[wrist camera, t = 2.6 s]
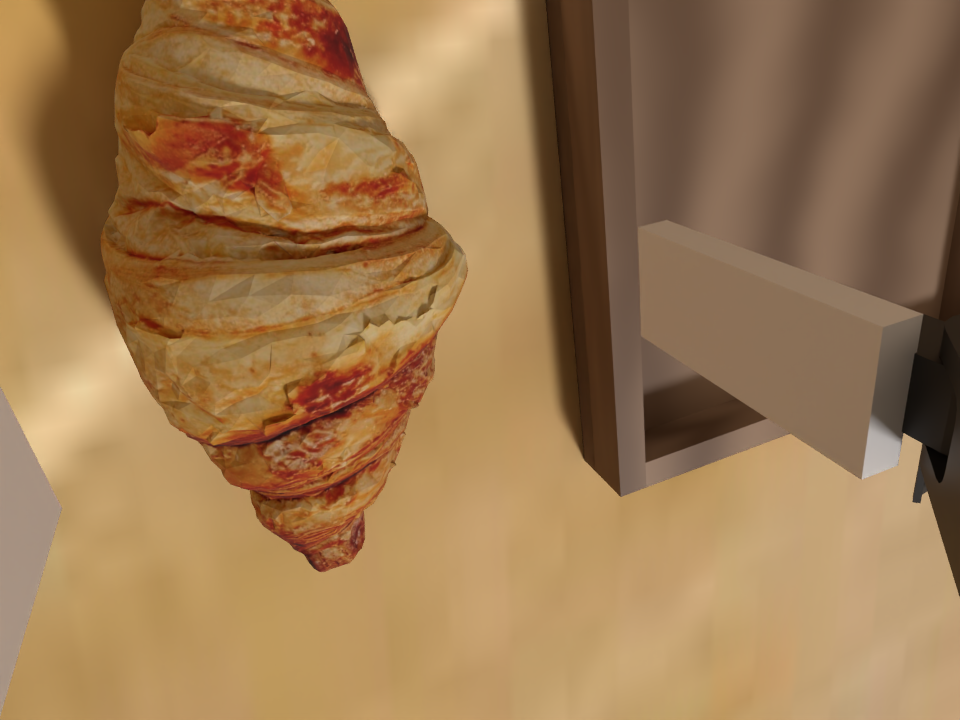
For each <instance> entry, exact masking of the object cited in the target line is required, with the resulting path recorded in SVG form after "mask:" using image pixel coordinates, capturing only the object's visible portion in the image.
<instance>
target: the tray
mask: <svg viewBox="0 0 960 720" xmlns="http://www.w3.org/2000/svg"><path fill="white" fill-rule="evenodd" d="M546 6H547V18H548V30H549V42H550V54H551V66H552V78H553V90H554V102H555V114H556V126H557V138H558V149H559V161H560V173H561V185H562V197H563V209H564V221H565V233H566V245H567V257H568V269H569V281H570V293H571V305H572V317H573V329H574V341H575V353H576V365H577V377H578V389H579V401H580V413H581V425H582V437H583V448H584V460H585V461H586V462H587V463H588V464H589V465H590V466H591V467H592V468H593V469H594V470H595V471H596V472H597V473H598V474H599V475H600V476H601V477H602V478H603V479H604V480H605V481H606V482H607V483H608V484H609V485H610V486H611V487H612V488H613V489H614V491H615V492H616V493H617V494H618V495H619V496H620V497H622V496H624V495H627V494H630V493H632V492H635V491H638V490H640V489H643V488H646V487H648V486H651V485H654V484H657V483H659V482H662V481H665V480H667V479H670V478H673V477H675V476H678V475H681V474H683V473H686V472H689V471H691V470H694V469H697V468H699V467H702V466H705V465H707V464H710V463H713V462H715V461H718V460H721V459H723V458H726V457H729V456H731V455H734V454H737V453H739V452H742V451H745V450H747V449H750V448H753V447H755V446H758V445H761V444H763V443H766V442H769V441H771V440H774V439H777V438H779V437H782V436H785V435H787V434H790V433H789V432H788V431H786V430H784V429H783V428H781V427H780V426H778V425H777V424H775V423H774V422H772V421H771V420H769V419H768V418H766V417H764V416H763V415H761V414H760V413H758V412H757V411H755V410H754V409H752V408H751V407H749V406H748V405H746V404H744V403H743V402H741V401H740V400H738V399H737V398H735V397H734V396H732V395H731V394H729V393H728V392H726V391H725V390H723V389H721V388H720V387H718V386H717V385H715V384H714V383H712V382H711V381H709V380H708V379H706V378H705V377H703V376H701V375H700V374H698V373H697V372H695V371H694V370H692V369H691V368H689V367H688V366H686V365H685V364H683V363H682V362H680V361H678V360H677V359H675V358H674V357H672V356H671V355H669V354H668V353H666V352H665V351H663V350H662V349H660V348H658V347H657V346H655V345H654V344H652V343H651V342H649V341H648V340H646V339H645V338H643V337H642V336H641V313H640V280H639V248H638V227H641V226H645V225H649V224H653V223H657V222H661V221H665V220H668V221H671V222H674V223H676V224H679V225H682V226H685V227H687V228H690V229H693V230H696V231H698V232H701V233H704V234H706V235H709V236H712V237H715V238H717V239H720V240H723V241H726V242H728V243H731V244H734V245H736V246H739V247H742V248H745V249H747V250H750V251H753V252H755V253H758V254H761V255H764V256H766V257H769V258H772V259H775V260H777V261H780V262H783V263H785V264H788V265H791V266H794V267H796V268H799V269H802V270H805V271H807V272H810V273H813V274H815V275H818V276H821V277H824V278H826V279H829V280H832V281H835V282H837V283H841V284H843V285H846V286H849V287H851V288H854V289H857V290H860V291H862V292H865V293H867V294H871V295H873V296H876V297H879V298H881V299H884V300H886V301H890V302H892V303H895V304H898V305H901V306H903V307H906V308H909V309H911V310H914V311H917V312H920V313H922V314H925V315H928V316H931V317H933V318H936V319H939V320H941V321H944V322H945V321H947V320H948V319H949V318H951V317H952V316H955V315H959V314H960V0H546Z"/></svg>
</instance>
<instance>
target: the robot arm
mask: <svg viewBox="0 0 960 720" xmlns="http://www.w3.org/2000/svg"><path fill="white" fill-rule="evenodd" d="M638 248H639V280H640V313H641V336H642V337H643V338H645V339H646V340H648V341H649V342H651V343H652V344H654V345H655V346H657V347H658V348H660V349H662V350H663V351H665V352H666V353H668V354H669V355H671V356H672V357H674V358H675V359H677V360H678V361H680V362H682V363H683V364H685V365H686V366H688V367H689V368H691V369H692V370H694V371H695V372H697V373H698V374H700V375H701V376H703V377H705V378H706V379H708V380H709V381H711V382H712V383H714V384H715V385H717V386H718V387H720V388H721V389H723V390H725V391H726V392H728V393H729V394H731V395H732V396H734V397H735V398H737V399H738V400H740V401H741V402H743V403H744V404H746V405H748V406H749V407H751V408H752V409H754V410H755V411H757V412H758V413H760V414H761V415H763V416H764V417H766V418H768V419H769V420H771V421H772V422H774V423H775V424H777V425H778V426H780V427H781V428H783V429H784V430H786V431H788V432H789V433H791V434H792V435H794V436H795V437H797V438H798V439H800V440H801V441H803V442H804V443H806V444H807V445H809V446H811V447H812V448H814V449H815V450H817V451H818V452H820V453H821V454H823V455H824V456H826V457H827V458H829V459H831V460H832V461H834V462H835V463H837V464H838V465H840V466H841V467H843V468H844V469H846V470H847V471H849V472H850V473H852V474H854V475H855V476H857V477H858V478H860V479H861V480H862V479H865V478H867V477H870V476H872V475H875V474H877V473H880V472H882V471H885V470H887V469H890V468H893V467H895V466H898V462H899V456H900V450H901V444H902V438H903V433H905V434H907V435H908V436H910V437H912V438H914V439H916V440H918V441H919V442H921V443H923V444H922V450H921V455H920V461H919V466H918V472H917V477H916V482H915V488H914V493H913V502H916V503H920V502H921V497H922V494H924V493H925V492H927V491H928V494H929V498H930V501H931V504H932V508H933V511H934V514H935V517H936V521H937V524H938V527H939V531H940V534H941V537H942V540H943V544H944V547H945V550H946V554H947V557H948V560H949V563H950V567H951V570H952V573H953V577H954V580H955V583H956V586H957V590H958V593H959V596H960V314H959V315H955V316H952V317H951V318H949V319H948V320H947V321H945V322H944V321H941V320H939V319H936V318H933V317H931V316H928V315H925V314H922V313H920V312H917V311H914V310H911V309H909V308H906V307H903V306H901V305H898V304H895V303H892V302H890V301H886V300H884V299H881V298H879V297H876V296H873V295H871V294H867V293H865V292H862V291H860V290H857V289H854V288H851V287H849V286H846V285H843V284H841V283H837V282H835V281H832V280H829V279H826V278H824V277H821V276H818V275H815V274H813V273H810V272H807V271H805V270H802V269H799V268H796V267H794V266H791V265H788V264H785V263H783V262H780V261H777V260H775V259H772V258H769V257H766V256H764V255H761V254H758V253H755V252H753V251H750V250H747V249H745V248H742V247H739V246H736V245H734V244H731V243H728V242H726V241H723V240H720V239H717V238H715V237H712V236H709V235H706V234H704V233H701V232H698V231H696V230H693V229H690V228H687V227H685V226H682V225H679V224H676V223H674V222H671V221H668V220H665V221H661V222H657V223H653V224H649V225H645V226H641V227H638ZM61 510H62V507H61V505H60V503H59V502H58V500H57V498H56V496H55V494H54V492H53V490H52V488H51V486H50V484H49V482H48V480H47V478H46V476H45V474H44V472H43V470H42V468H41V466H40V464H39V462H38V460H37V458H36V456H35V454H34V452H33V450H32V448H31V446H30V444H29V442H28V440H27V438H26V436H25V434H24V432H23V430H22V428H21V426H20V424H19V422H18V421H17V419H16V417H15V415H14V413H13V411H12V409H11V407H10V405H9V403H8V401H7V399H6V397H5V395H4V393H3V391H2V389H1V387H0V715H1V711H2V708H3V705H4V701H5V698H6V695H7V691H8V688H9V685H10V681H11V678H12V674H13V671H14V668H15V664H16V661H17V658H18V654H19V651H20V648H21V644H22V641H23V637H24V634H25V631H26V627H27V624H28V621H29V617H30V614H31V611H32V607H33V604H34V600H35V597H36V594H37V590H38V587H39V584H40V580H41V577H42V574H43V570H44V567H45V563H46V560H47V557H48V553H49V550H50V547H51V543H52V540H53V537H54V533H55V530H56V526H57V523H58V520H59V516H60V513H61Z"/></svg>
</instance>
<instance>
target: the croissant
mask: <svg viewBox="0 0 960 720" xmlns="http://www.w3.org/2000/svg"><path fill="white" fill-rule="evenodd" d="M141 21H142V23H141V26H140V28H139V29H138V30H137V32H136V34H135V36H134V44H132V45H131V46H130V47H129V48H128V49H126V50H125V51H124V53H123V56H122V58H121V61H120V63H119V69H118V74H117V80H116V86H115V92H114V105H115V121H114V126H115V128H116V131H117V133H118V152H119V154H118V155H117V157H116V158H115V164H116V171H117V178H118V183H119V187H118V189H117V192H116V194H115V200H114V202H113V204H112V205H111V207H110V208H109V210H108V214H109V216H108V218H107V220H106V222H105V224H104V227H103V231H102V234H101V254H102V258H103V261H104V265H105V269H106V275H105V278H104V283H105V286H106V289H107V292H108V295H109V299H110V302H111V306H112V309H113V313H114V316H115V320H116V323H117V326H118V328H119V331H120V333H121V335H122V337H123V339H124V341H125V343H126V345H127V348H128V350H129V352H130V354H131V356H132V358H133V360H134V363H135V365H136V367H137V369H138V372H139V374H140V377H141V379H142V380H143V382H144V384H145V385H146V387H147V388H148V390H149V392H150V393H151V395H152V396H153V398H154V399H155V400H156V401H157V402H158V404H159V405H160V406H161V407H162V408H163V409H164V411H165V414H166V416H167V418H168V420H169V422H170V424H171V425H173V426H174V427H176V428H177V429H179V431H182V432H184V433H186V435H187V437H190V438H192V439H194V440H197V441H198V442H199V443H200V444H201V445H202V446H203V448H204V449H205V451H206V453H207V454H208V456H209V458H210V459H211V461H212V462H213V463H214V464H216V465H217V466H218V467H219V468H220V469H221V470H222V473H223V476H224V477H225V478H226V480H227V481H228V482H229V483H230V484H231V485H235V486H238V487H241V488H243V489H247V490H250V494H251V501H252V504H253V506H254V508H255V510H256V516H257V518H258V519H259V521H260V522H261V523H262V525H263V526H264V527H265V528H267V529H268V530H270V531H271V532H273V533H274V534H276V535H277V536H279V537H280V538H282V539H283V540H285V541H287V542H288V543H289V544H290V545H291V546H292V547H293V549H295V550H297V551H299V552H301V553H303V554H304V555H305V557H306V558H307V560H308V562H309V563H310V564H311V565H312V567H313V568H314V569H316V570H317V571H319V572H325V571H328V570H330V569H332V568H336V567H339V566H342V565H344V564H348V563H350V562H351V561H352V560H353V559H354V558H355V556H356V554H357V553H358V551H359V550H360V549H362V546H363V543H364V540H365V519H364V511H363V510H364V509H366V508H367V507H369V506H370V505H372V504H373V503H374V502H375V500H376V498H377V496H378V495H379V493H380V492H381V491H382V490H383V488H384V485H385V483H386V480H387V476H388V473H389V471H390V470H391V468H393V467H394V466H395V465H396V464H395V460H396V457H397V455H398V453H399V450H400V447H401V444H402V441H403V439H404V437H405V435H406V434H405V432H404V430H405V428H406V425H407V421H408V418H409V415H410V409H412V408H415V407H418V406H419V405H418V403H419V402H420V401H421V399H422V396H423V394H424V392H425V390H426V388H427V385H428V384H429V383H430V382H431V381H432V380H433V376H434V371H435V359H434V350H435V344H436V339H437V333H438V330H439V329H440V327H441V326H442V325H443V323H444V322H445V320H446V319H447V317H448V316H449V314H450V313H451V312H452V310H453V307H454V305H455V303H456V301H457V299H458V297H459V294H460V292H461V290H462V287H463V285H464V282H465V280H466V277H467V271H468V268H467V262H466V256H465V253H464V252H463V250H462V248H461V247H460V246H459V245H458V244H457V243H455V242H454V241H453V239H452V237H451V235H450V234H449V233H448V232H447V231H446V230H445V229H444V228H443V226H442V225H441V224H439V223H438V222H436V221H435V220H433V219H432V218H430V217H428V216H427V215H428V207H427V203H426V198H425V193H424V190H423V186H422V182H421V179H420V175H419V171H418V167H417V164H416V162H415V160H414V157H413V155H412V154H410V153H409V151H408V150H407V148H406V146H405V145H404V143H403V142H401V141H399V140H398V139H396V138H395V137H393V136H391V134H390V132H389V131H388V129H387V127H386V123H385V121H384V120H383V119H382V118H381V117H380V116H379V114H378V113H377V111H376V109H375V107H374V105H373V103H372V101H371V100H370V98H369V97H368V95H367V93H366V89H365V85H364V82H363V79H362V76H361V73H360V70H359V66H358V63H357V60H356V57H355V53H354V50H353V46H352V43H351V40H350V36H349V33H348V30H347V27H346V25H345V24H344V22H343V20H342V18H341V17H340V15H339V13H338V11H337V10H336V9H335V8H334V6H333V5H332V4H331V3H330V2H329V1H328V0H145V3H144V5H143V7H142V9H141Z"/></svg>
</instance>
